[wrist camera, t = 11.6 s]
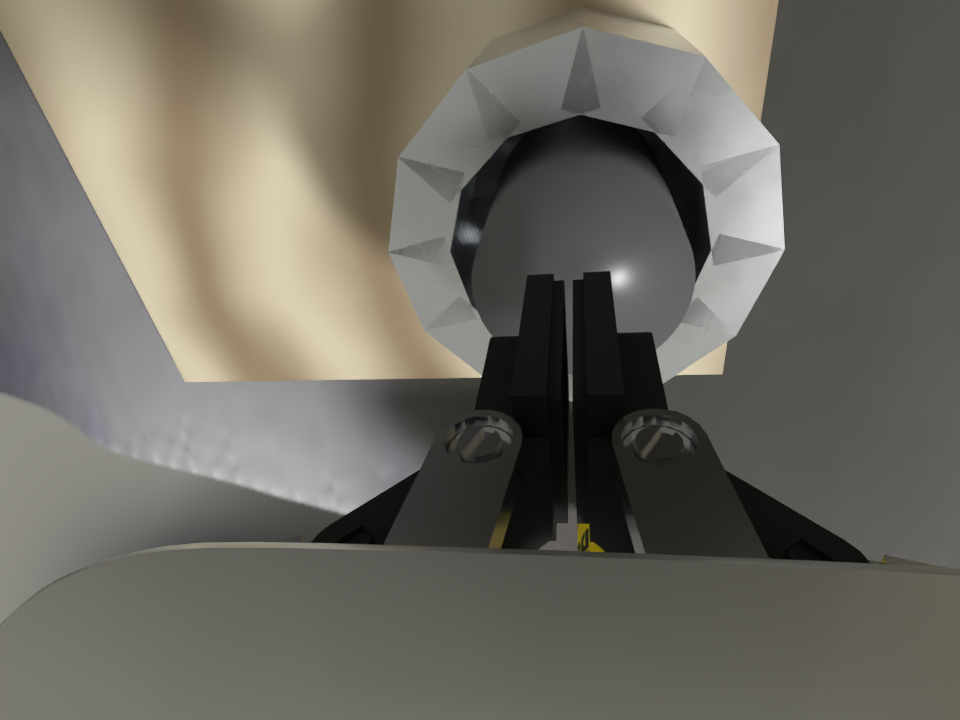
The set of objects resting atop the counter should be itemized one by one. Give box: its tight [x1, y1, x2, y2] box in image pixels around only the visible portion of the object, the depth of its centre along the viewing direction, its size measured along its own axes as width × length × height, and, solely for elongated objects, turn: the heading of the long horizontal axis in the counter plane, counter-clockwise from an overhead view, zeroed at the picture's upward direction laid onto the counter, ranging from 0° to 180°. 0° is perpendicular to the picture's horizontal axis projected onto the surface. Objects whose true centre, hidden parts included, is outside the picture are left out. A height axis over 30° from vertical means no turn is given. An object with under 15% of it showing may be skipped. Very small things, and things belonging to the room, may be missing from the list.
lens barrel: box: [388, 6, 785, 401], centre depth 17 cm, size 10×10×5 cm
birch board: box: [0, 0, 779, 382], centre depth 21 cm, size 24×16×1 cm, turn 97°
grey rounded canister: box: [472, 115, 696, 375], centre depth 16 cm, size 5×5×6 cm
